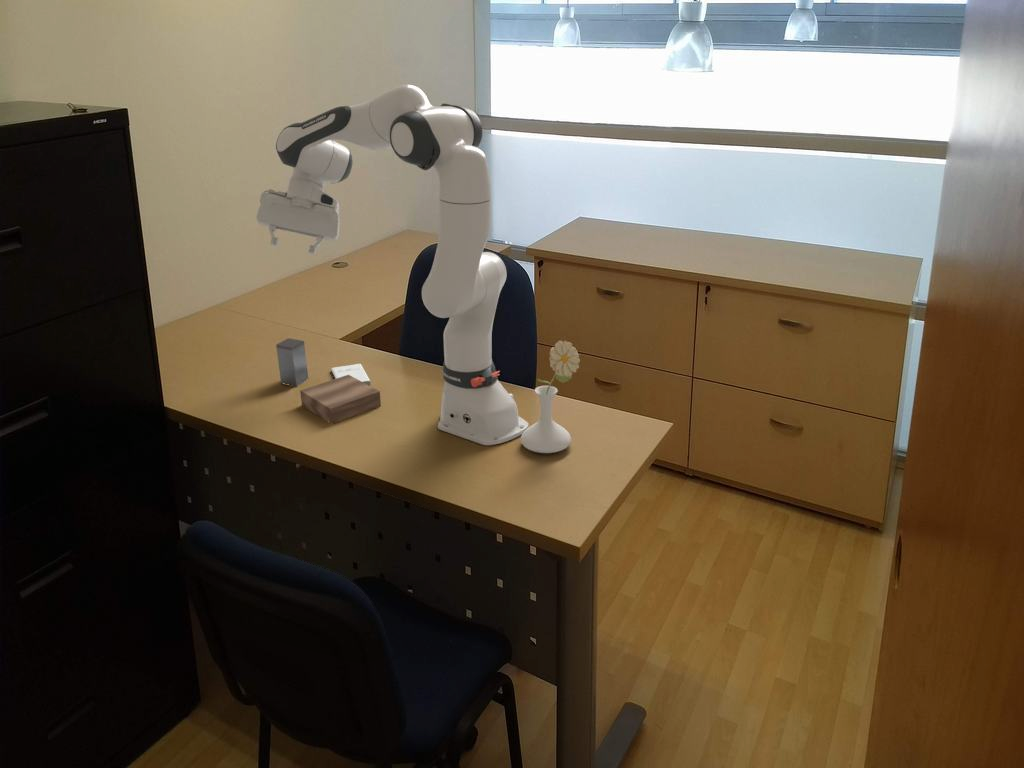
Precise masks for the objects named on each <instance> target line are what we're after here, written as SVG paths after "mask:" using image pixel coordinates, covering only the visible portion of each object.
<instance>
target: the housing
mask: <svg viewBox="0 0 1024 768" xmlns="http://www.w3.org/2000/svg"><path fill="white" fill-rule="evenodd" d="M275 348H276V355H277V362H278V369H279V376H280V384H281V383H285V384H289V385H288V386H290V385H293V386H292V387H295V386H297V387H299V386H300V384H301V383H302V384H303V382H304V381H305V382H307V381H308V380H309V372H308V364H307V357H306V356H307V354H306V348H305V341H304V340H302V339H301V340H300V339H295V338H288V337H287V338H286V339H284V340H282V341H281V342H278V343H276V346H275ZM307 379H308V380H307ZM306 380H307V381H306ZM305 382H304V383H305ZM285 384H284V385H285ZM302 384H301V385H302ZM298 385H299V386H298Z"/></svg>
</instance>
